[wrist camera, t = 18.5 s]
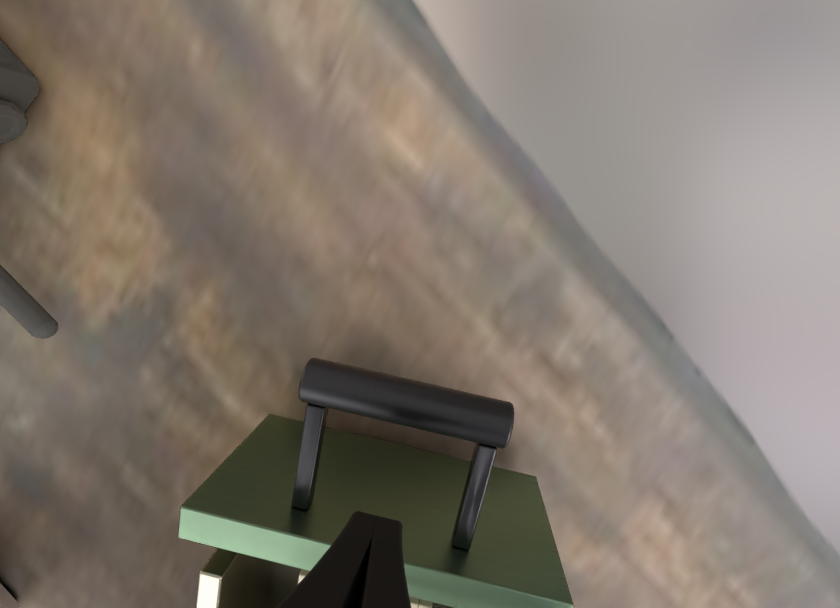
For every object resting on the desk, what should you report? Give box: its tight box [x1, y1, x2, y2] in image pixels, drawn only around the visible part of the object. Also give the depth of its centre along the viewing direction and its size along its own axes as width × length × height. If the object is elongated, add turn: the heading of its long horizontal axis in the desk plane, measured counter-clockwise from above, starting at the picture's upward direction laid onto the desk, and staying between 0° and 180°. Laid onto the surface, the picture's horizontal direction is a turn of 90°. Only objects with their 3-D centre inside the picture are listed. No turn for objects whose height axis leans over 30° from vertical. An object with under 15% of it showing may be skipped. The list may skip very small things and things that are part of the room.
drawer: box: [178, 358, 573, 608], centre depth 17 cm, size 21×12×6 cm, turn 168°
